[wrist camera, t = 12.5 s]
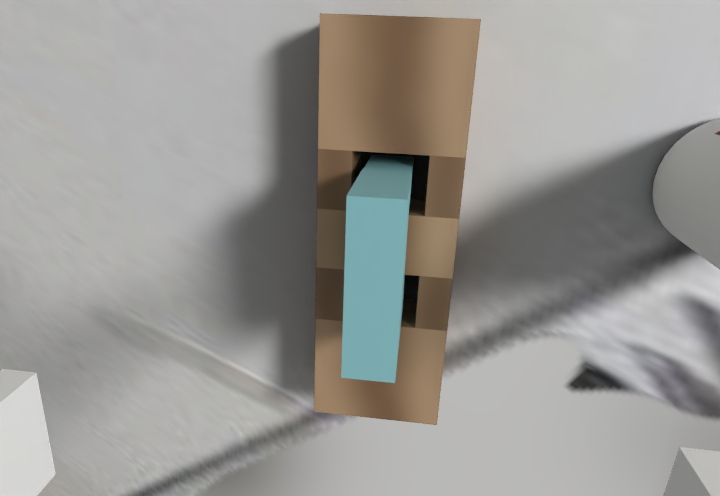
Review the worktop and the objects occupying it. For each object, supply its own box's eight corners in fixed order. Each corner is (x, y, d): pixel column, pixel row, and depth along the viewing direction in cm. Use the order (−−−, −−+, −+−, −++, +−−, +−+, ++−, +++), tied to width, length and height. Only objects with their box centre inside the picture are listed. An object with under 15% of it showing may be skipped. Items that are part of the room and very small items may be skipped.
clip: (365, 286, 36) (341, 377, 26) (371, 153, 33) (346, 195, 23) (404, 289, 36) (395, 383, 25) (413, 155, 33) (408, 199, 22)
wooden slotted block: (325, 377, 39) (314, 411, 35) (333, 19, 31) (319, 13, 27) (435, 388, 38) (436, 425, 34) (473, 24, 30) (480, 19, 26)
